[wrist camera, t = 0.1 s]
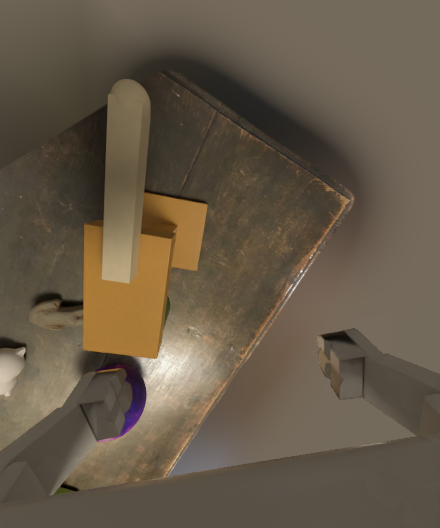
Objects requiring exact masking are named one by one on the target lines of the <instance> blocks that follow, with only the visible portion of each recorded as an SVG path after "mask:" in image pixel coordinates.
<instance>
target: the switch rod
mask: <svg viewBox="0 0 440 528" xmlns="http://www.w3.org/2000/svg"><path fill="white" fill-rule="evenodd" d="M150 109H151V104H150V99H149V96H148V94H147V92H146V90H145V89H144V88H143V87H142V86H141V85H140V84H139V83H137V82H136V81H134V80H130V79H122V80H119V81H118V82H116V83H115V84H114V86H113V87H112V89H111V93H110V94H108V109H107V138H106V167H105V195H104V224H103V253H102V280H109V281H115V282H122V283H130V282H131V281H132V280H133V278H134V277H135V276H136V275H137V271H138V259H139V247H140V235H141V223H142V211H143V199H144V188H145V176H146V164H147V152H148V140H149V128H150V116H151V112H150Z"/></svg>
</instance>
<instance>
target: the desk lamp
mask: <svg viewBox="0 0 440 528" xmlns="http://www.w3.org/2000/svg"><path fill="white" fill-rule="evenodd" d="M207 207H208V204H206V203H200V202H195V201H190V200H185V199H179V198H174V197H169V196H163V195H158V194H153V193H148V192H144V199H143V211H142V223H141V235H140V247H139V259H138V271H137V275H136V276H135V277H134V278H133V280H132V281H131V282H130V283H122V282H115V281H109V280H102V253H103V224H104V220H96V221H93V222H89V223H86V224H84V300H83V350H87V351H96V352H104V353H112V354H121V355H129V356H137V357H146V358H154V359H156V358H157V356H158V352H159V349H160V346H161V343H162V335H163V330H164V327H165V323H166V320H167V317H168V314H169V311H170V301H169V298H168V289H169V282H170V274H171V267H175V268H181V269H188V270H194V271H197V267H198V261H199V255H200V249H201V243H202V237H203V231H204V225H205V219H206V213H207Z"/></svg>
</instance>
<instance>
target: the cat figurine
mask: <svg viewBox="0 0 440 528" xmlns="http://www.w3.org/2000/svg"><path fill="white" fill-rule="evenodd" d="M25 350H26V349H25V347H21V348H17V349H13V348H1V349H0V395H2V394H4V395H5V396H10V395H11V393H12V390H11V389H12V388H13V387H14V386H15V384H16V382H17V378H18V377H17V375H18V374H19V373H20V372H21V371H22V370H23V368H24V365H25V359H24V353H25Z"/></svg>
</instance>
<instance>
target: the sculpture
mask: <svg viewBox="0 0 440 528" xmlns="http://www.w3.org/2000/svg"><path fill="white" fill-rule="evenodd" d="M60 304H61V300H59V299H52V300H48V301H43V302H41V303H39V304H37V305H35V306H34V307H33V308H32V309H31V310H30V312H29V321H30V322H31V323H32V324H34V325H36V326H39V327H42V328H45V329H49V330H54V331H59V330H61V329H62V328H64V326H69V327H72V326H83V305H79V306H74V307H62V306H60Z"/></svg>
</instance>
